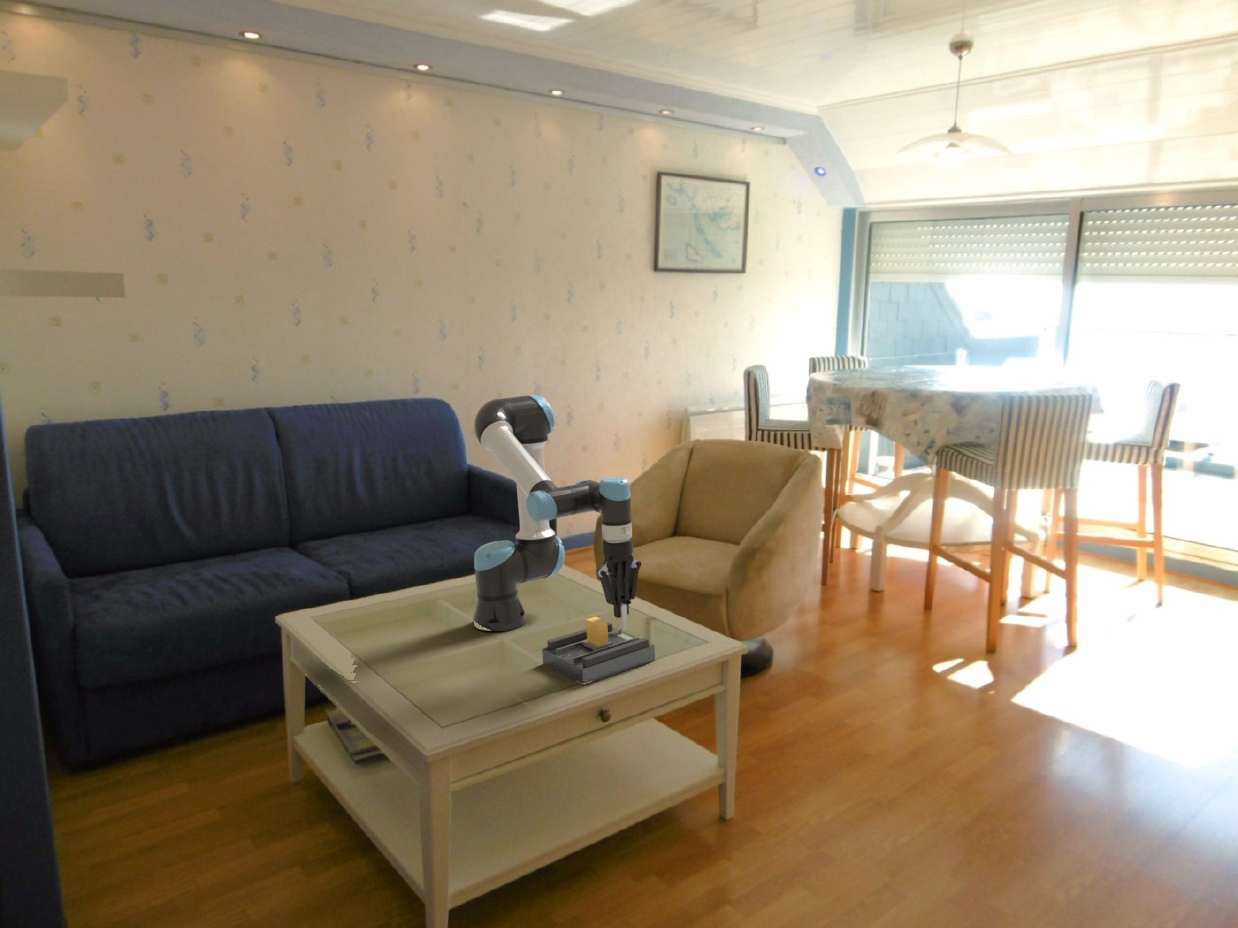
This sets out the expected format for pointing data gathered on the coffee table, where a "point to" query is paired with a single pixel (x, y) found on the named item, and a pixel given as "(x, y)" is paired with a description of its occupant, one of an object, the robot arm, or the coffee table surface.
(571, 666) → the grey rail base
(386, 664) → the coffee table surface
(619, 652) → the pair of guide rails
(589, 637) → the handle
